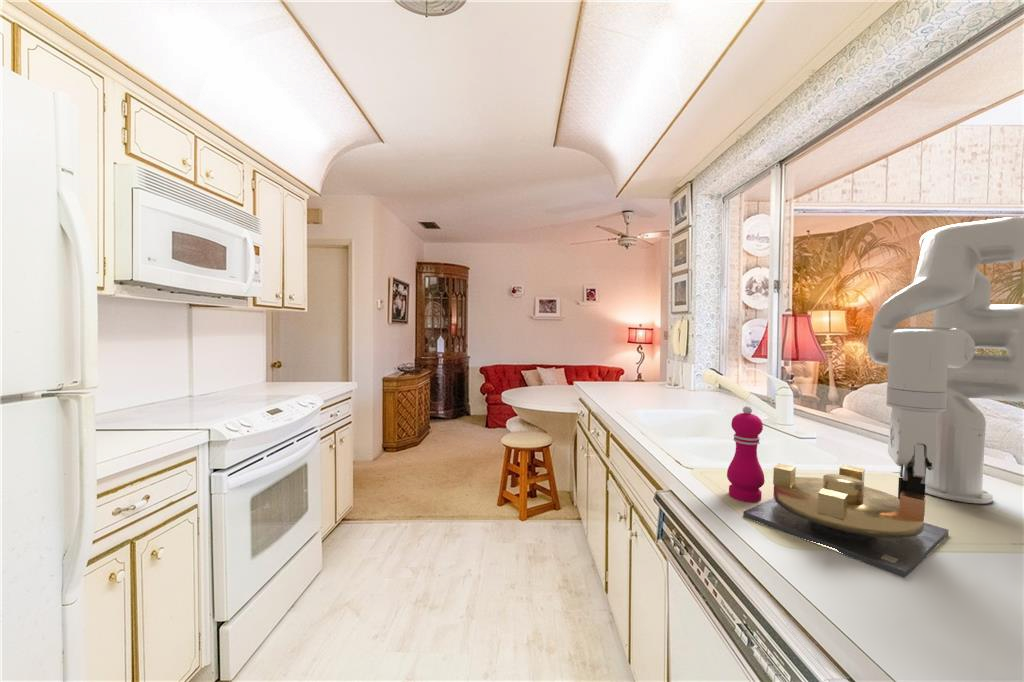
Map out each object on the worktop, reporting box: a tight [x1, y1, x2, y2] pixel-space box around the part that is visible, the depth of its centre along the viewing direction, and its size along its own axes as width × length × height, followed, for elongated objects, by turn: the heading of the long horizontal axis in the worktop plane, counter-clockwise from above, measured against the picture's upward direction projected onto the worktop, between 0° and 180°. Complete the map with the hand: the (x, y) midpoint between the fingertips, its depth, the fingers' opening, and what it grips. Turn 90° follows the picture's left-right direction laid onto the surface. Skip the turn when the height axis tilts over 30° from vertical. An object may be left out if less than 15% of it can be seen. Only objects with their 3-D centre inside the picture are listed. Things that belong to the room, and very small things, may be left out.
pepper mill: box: [726, 405, 765, 503], centre depth 92 cm, size 7×7×20 cm
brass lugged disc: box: [772, 463, 926, 538], centre depth 80 cm, size 22×22×6 cm
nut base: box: [742, 497, 949, 579], centre depth 80 cm, size 24×24×3 cm
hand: (910, 502), depth 75 cm, fingers closed
